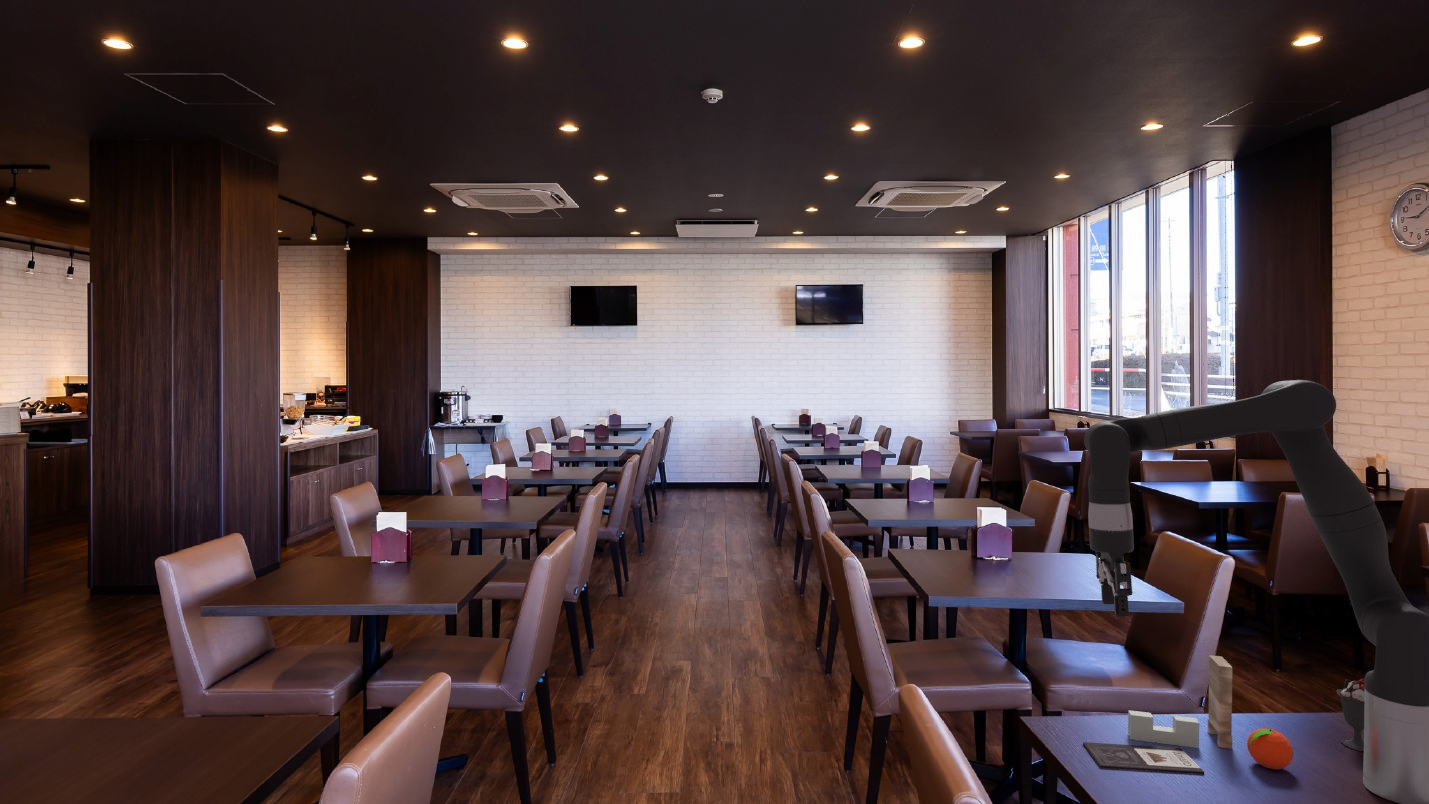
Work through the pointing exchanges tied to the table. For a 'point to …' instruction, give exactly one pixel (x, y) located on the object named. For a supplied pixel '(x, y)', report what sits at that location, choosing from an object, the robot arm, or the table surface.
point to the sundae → (1354, 710)
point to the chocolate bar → (1142, 758)
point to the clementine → (1270, 748)
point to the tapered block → (1220, 700)
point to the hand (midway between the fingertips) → (1114, 609)
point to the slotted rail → (1163, 730)
